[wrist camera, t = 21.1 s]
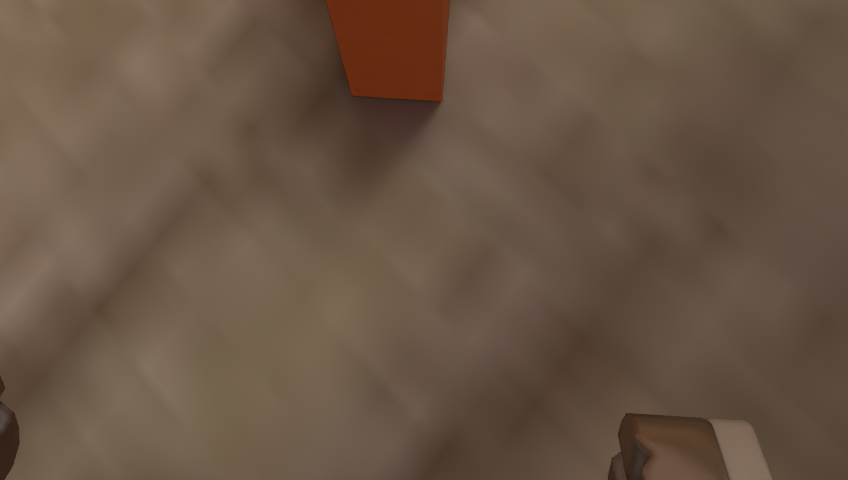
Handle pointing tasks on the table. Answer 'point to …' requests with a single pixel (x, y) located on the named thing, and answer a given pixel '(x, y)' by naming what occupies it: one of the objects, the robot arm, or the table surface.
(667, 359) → the table surface
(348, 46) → the book
